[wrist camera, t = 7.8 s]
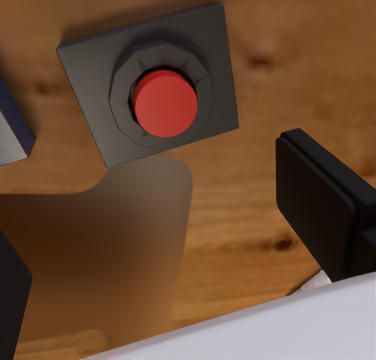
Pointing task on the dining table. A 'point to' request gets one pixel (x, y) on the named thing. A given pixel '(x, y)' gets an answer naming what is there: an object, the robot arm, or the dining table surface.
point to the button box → (145, 63)
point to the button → (164, 103)
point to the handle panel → (13, 130)
